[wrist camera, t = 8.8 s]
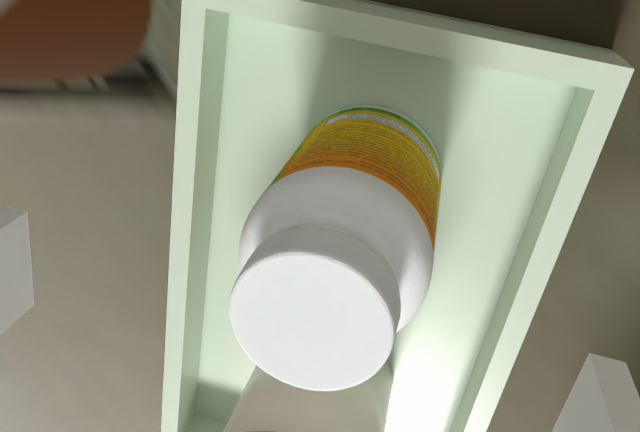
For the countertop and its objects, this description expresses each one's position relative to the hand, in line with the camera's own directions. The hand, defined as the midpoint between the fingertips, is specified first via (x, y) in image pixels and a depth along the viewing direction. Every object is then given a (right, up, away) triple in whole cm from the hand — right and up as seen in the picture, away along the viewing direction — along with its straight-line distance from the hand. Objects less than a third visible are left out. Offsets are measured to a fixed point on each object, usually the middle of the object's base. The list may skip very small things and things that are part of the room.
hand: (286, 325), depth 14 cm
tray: (+2, 0, +11) cm, 12 cm away
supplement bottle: (+3, +4, +9) cm, 10 cm away
